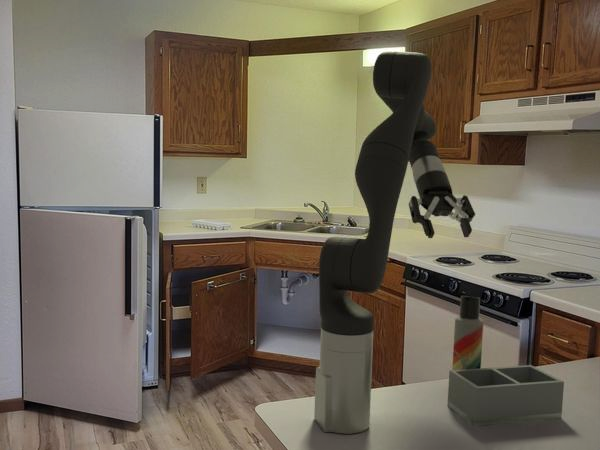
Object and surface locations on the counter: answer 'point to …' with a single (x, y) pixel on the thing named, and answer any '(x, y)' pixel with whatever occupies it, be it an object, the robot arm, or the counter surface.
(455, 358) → the lotion bottle
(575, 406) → the counter surface
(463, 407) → the box
